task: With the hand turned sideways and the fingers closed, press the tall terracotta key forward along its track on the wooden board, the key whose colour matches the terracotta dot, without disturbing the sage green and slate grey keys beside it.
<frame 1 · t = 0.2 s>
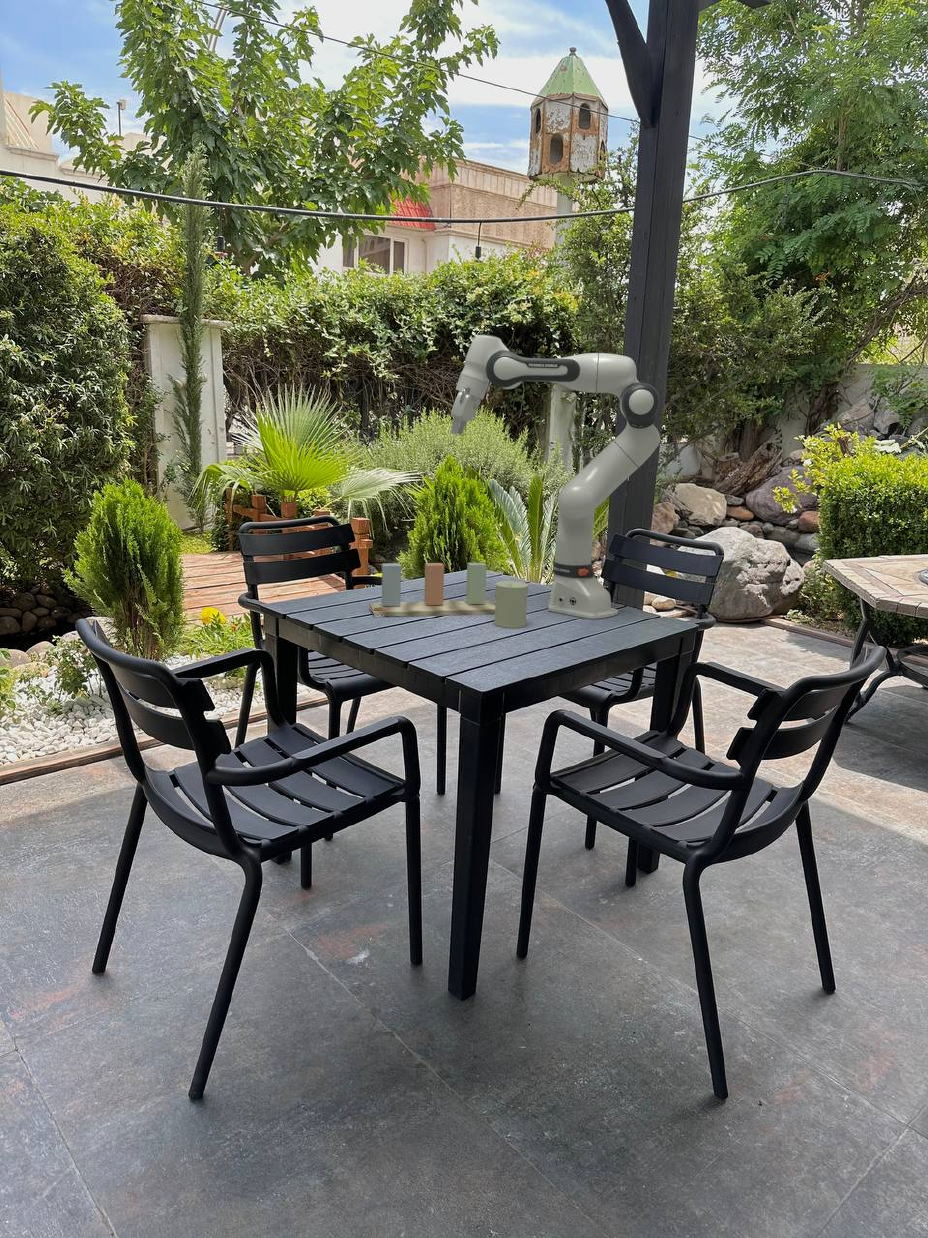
hand: (456, 433, 240), 52 cm above the table, tool tilted 15°, fingers open, 8 cm apart
can: (510, 624, 225), on the table
slate key: (391, 584, 235), point 8 cm above the table, slide at 0.0 cm
wooden board: (435, 610, 238), on the table
terracotta key: (434, 583, 238), point 8 cm above the table, slide at 0.0 cm
sage key: (476, 583, 241), point 8 cm above the table, slide at 0.0 cm
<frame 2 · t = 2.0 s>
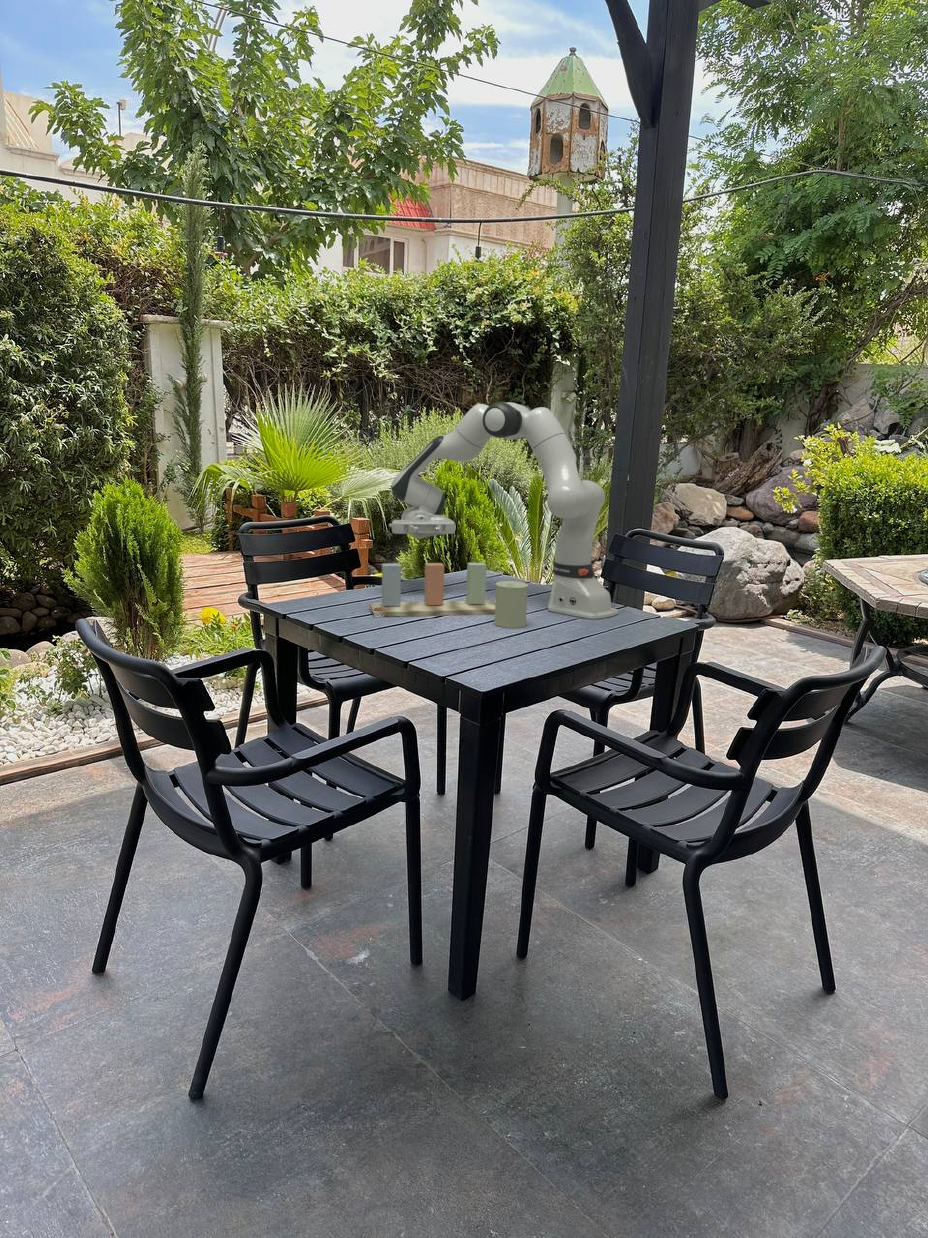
hand: (427, 530, 246), 22 cm above the table, tool horizontal, fingers open, 5 cm apart
nothing on the table moved.
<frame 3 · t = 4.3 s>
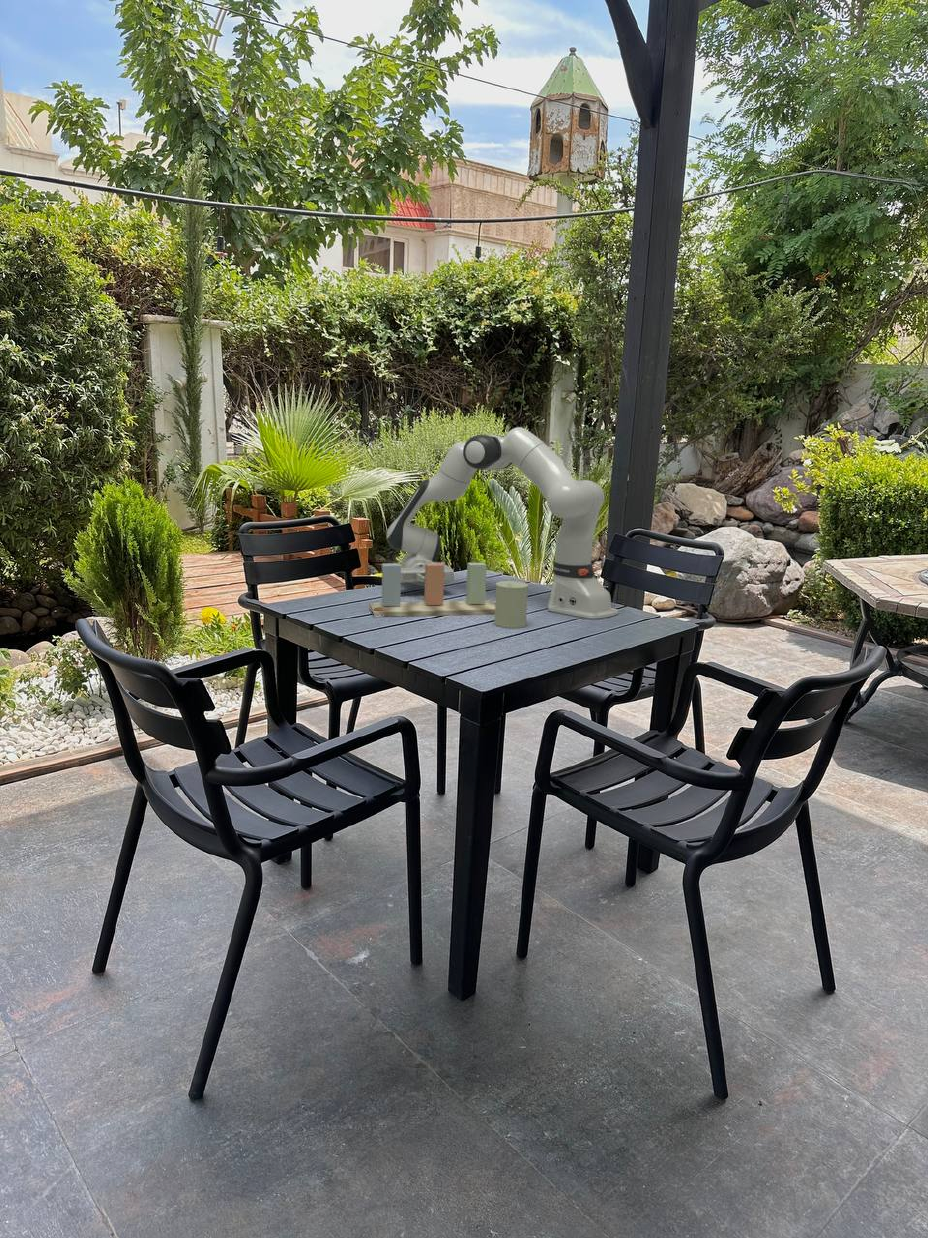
hand: (426, 579, 250), 6 cm above the table, tool horizontal, fingers closed
nothing on the table moved.
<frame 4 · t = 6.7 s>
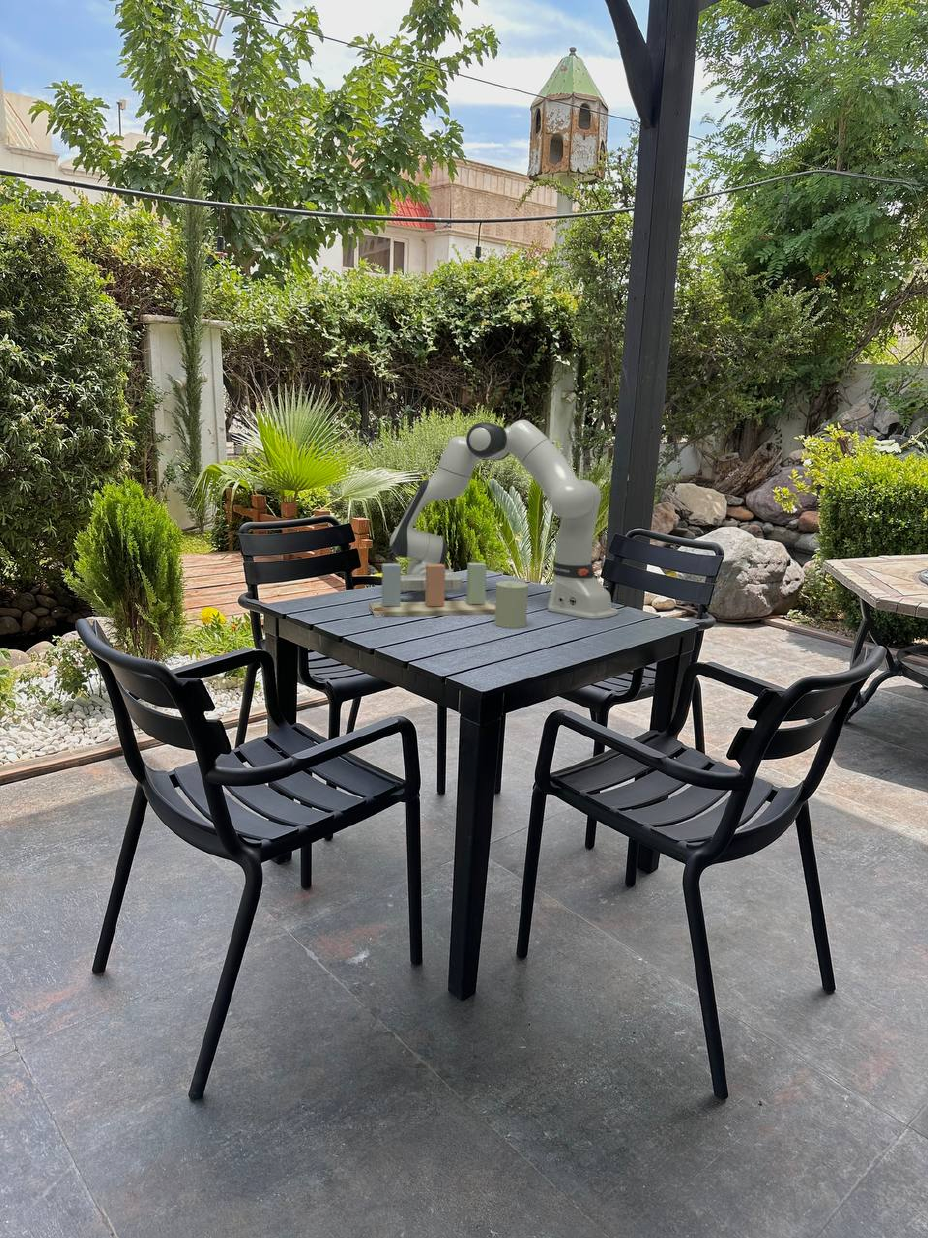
hand: (434, 588, 238), 6 cm above the table, tool horizontal, fingers closed, pressing on terracotta key
terracotta key: (435, 585, 236), point 8 cm above the table, slide at 1.5 cm, touching gripper
everything else where it was.
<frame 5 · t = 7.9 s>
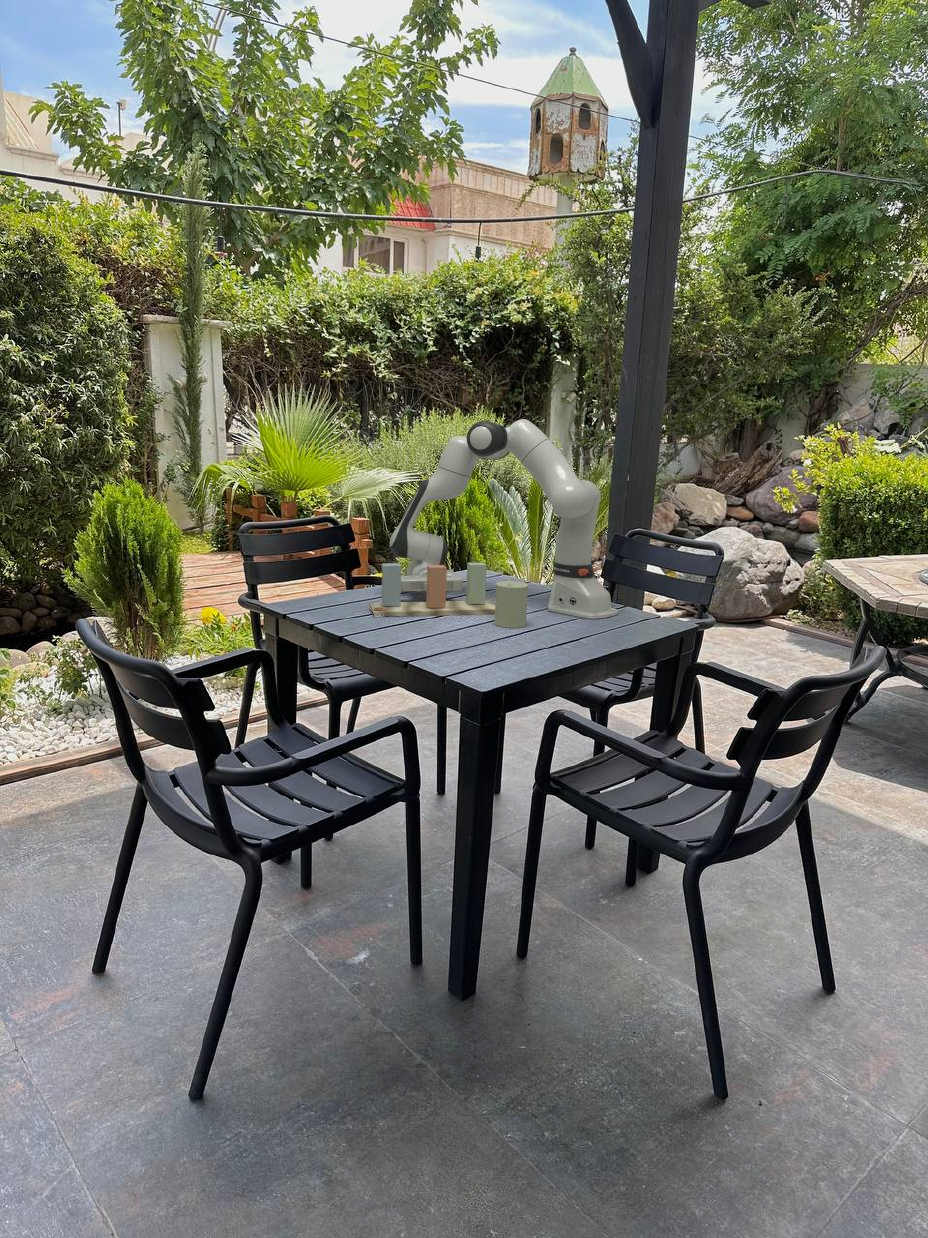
hand: (434, 588, 237), 7 cm above the table, tool horizontal, fingers closed
terracotta key: (436, 586, 234), point 8 cm above the table, slide at 3.4 cm
everything else where it was.
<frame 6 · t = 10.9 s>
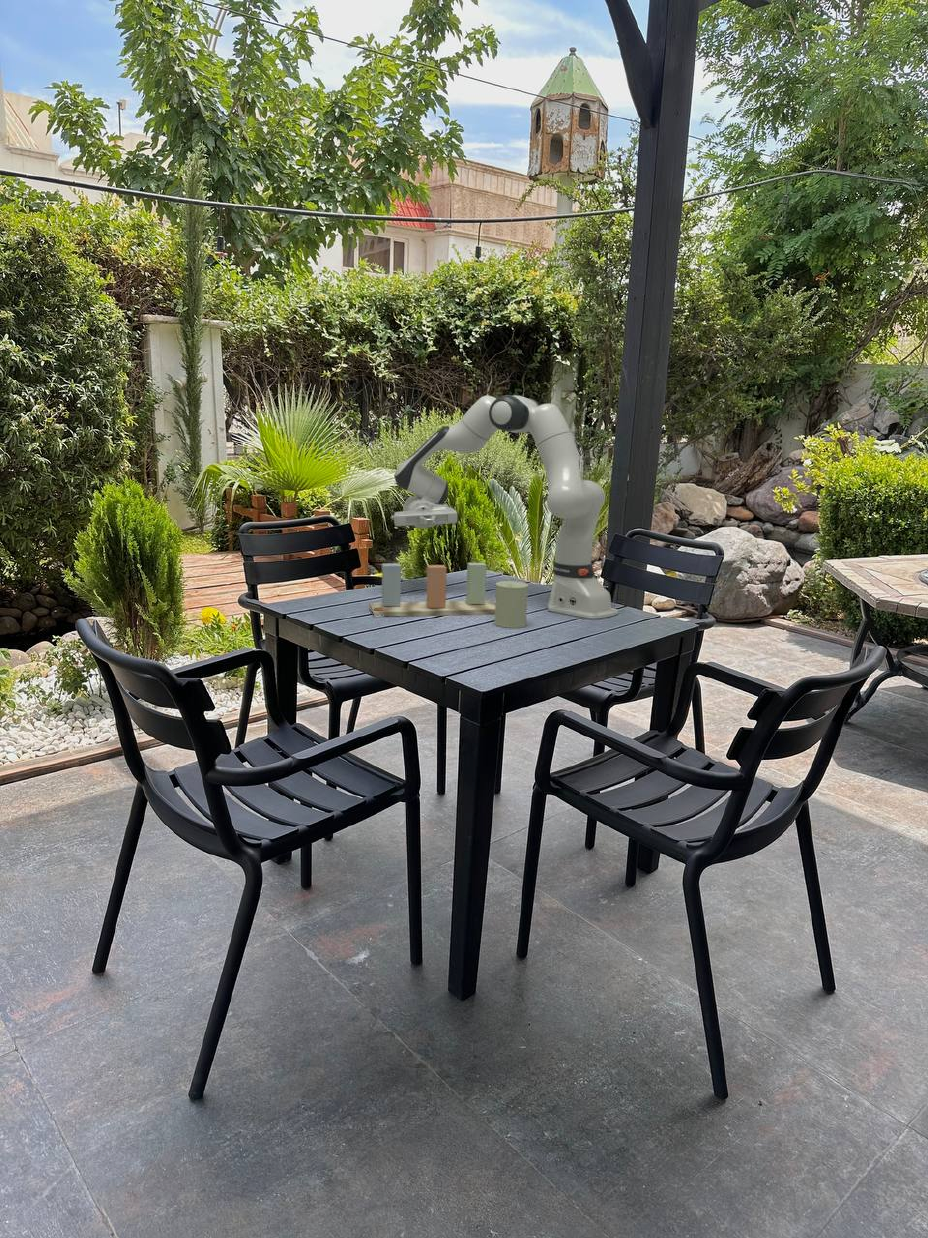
hand: (429, 521, 246), 25 cm above the table, tool horizontal, fingers closed
nothing on the table moved.
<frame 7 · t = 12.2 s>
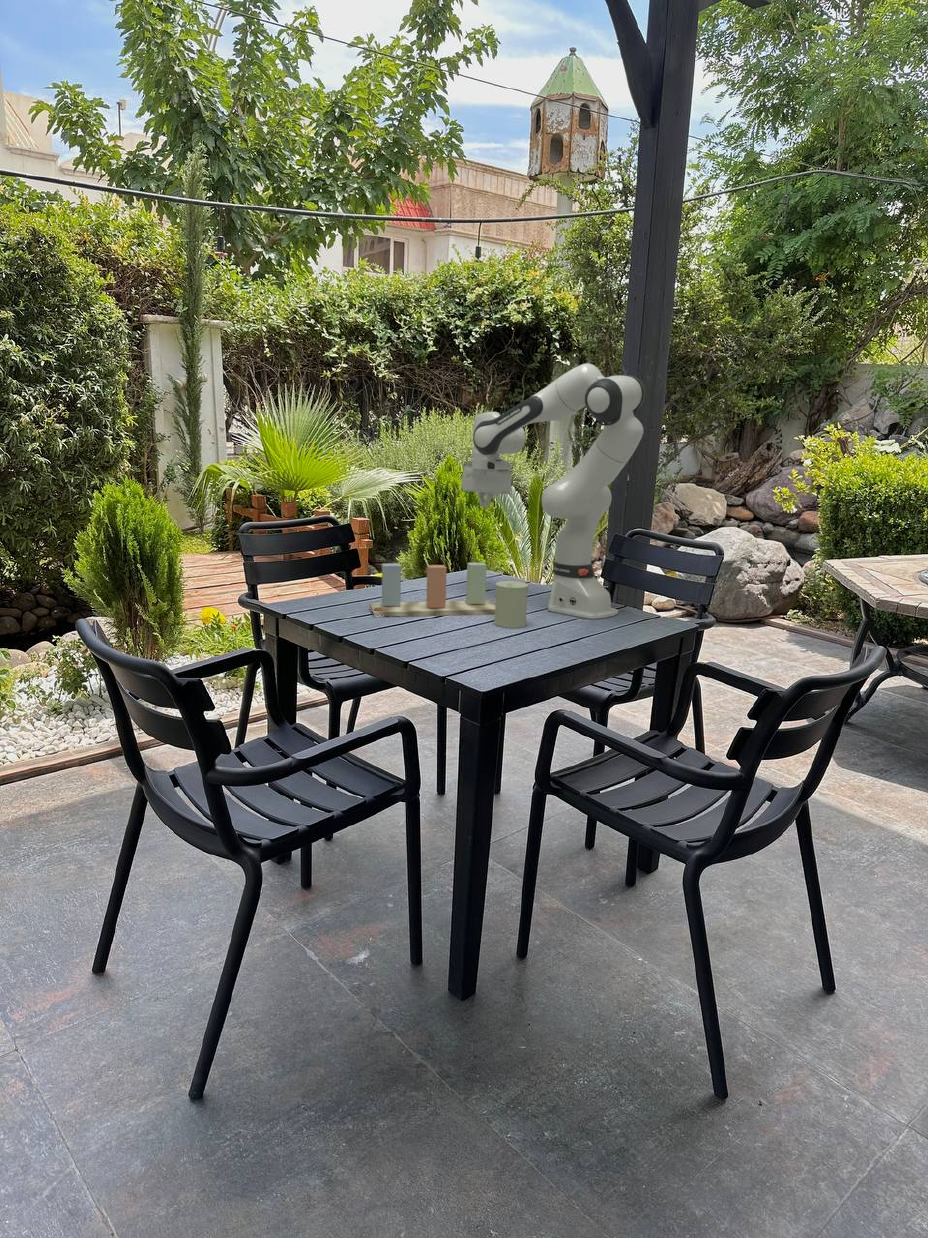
hand: (484, 506, 258), 28 cm above the table, tool pointing down, fingers closed
nothing on the table moved.
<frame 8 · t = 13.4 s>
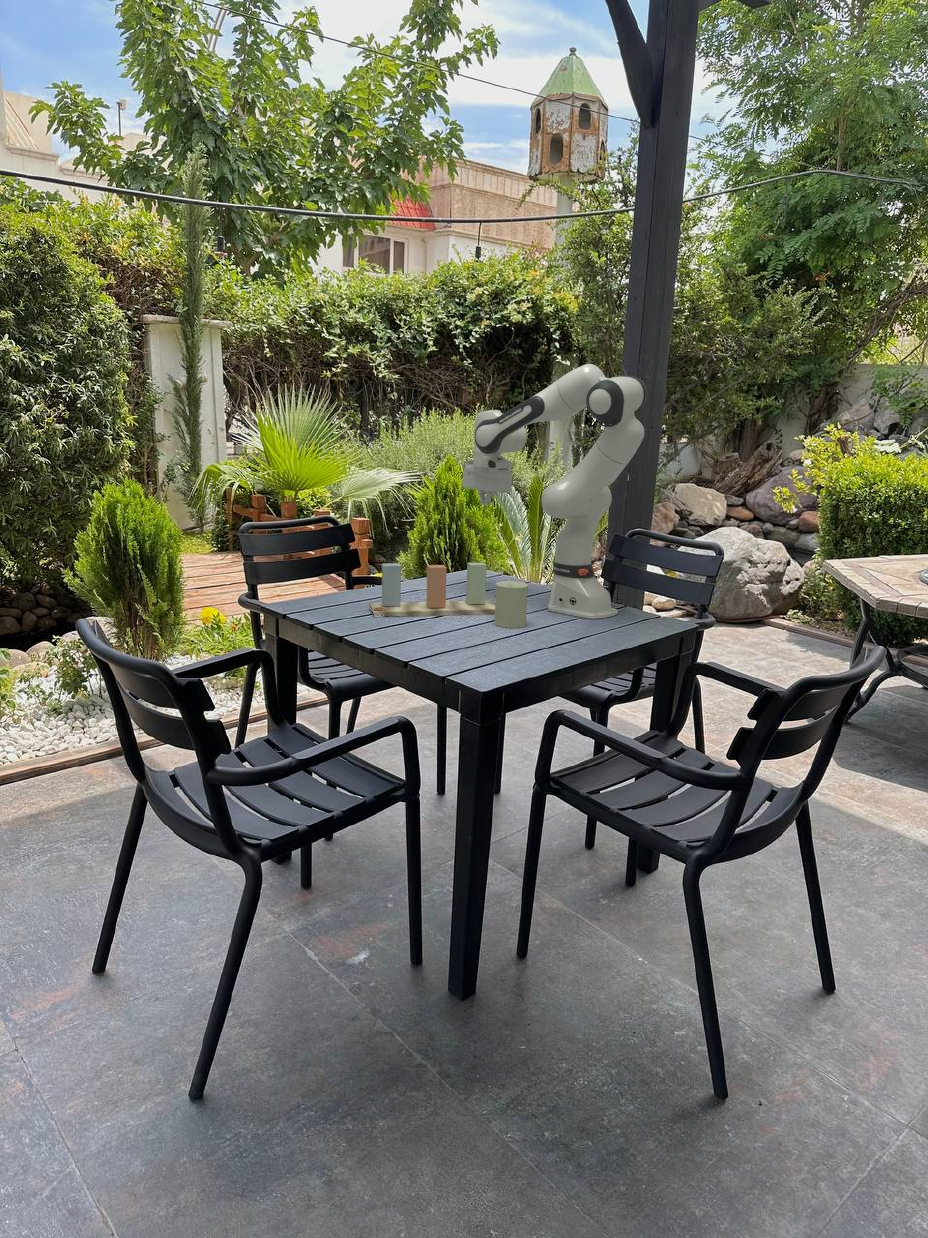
hand: (485, 504, 258), 29 cm above the table, tool pointing down, fingers closed
nothing on the table moved.
at the end: terracotta key slide at 3.4 cm; sage key slide at 0.0 cm; slate key slide at 0.0 cm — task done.
